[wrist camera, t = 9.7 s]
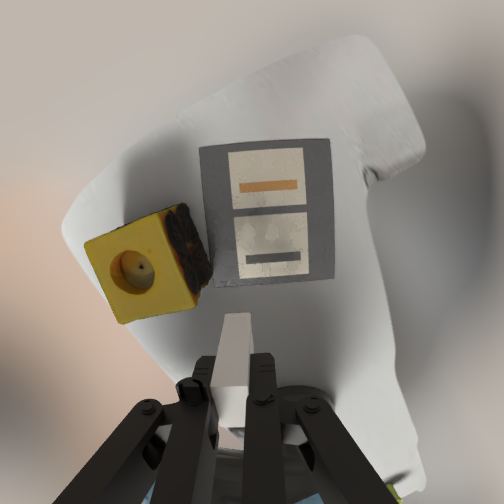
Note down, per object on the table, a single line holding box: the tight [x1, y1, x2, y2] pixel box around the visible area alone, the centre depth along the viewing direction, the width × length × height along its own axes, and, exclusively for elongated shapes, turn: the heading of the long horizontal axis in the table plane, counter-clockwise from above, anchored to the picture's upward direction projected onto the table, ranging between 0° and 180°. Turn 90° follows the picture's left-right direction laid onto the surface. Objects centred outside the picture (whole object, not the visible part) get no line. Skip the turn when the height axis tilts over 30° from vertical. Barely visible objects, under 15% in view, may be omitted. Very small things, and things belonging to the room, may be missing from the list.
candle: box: [84, 203, 213, 324], centre depth 31 cm, size 10×10×10 cm
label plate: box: [199, 139, 335, 287], centre depth 34 cm, size 18×16×1 cm
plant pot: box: [385, 484, 403, 504], centre depth 52 cm, size 9×9×9 cm
